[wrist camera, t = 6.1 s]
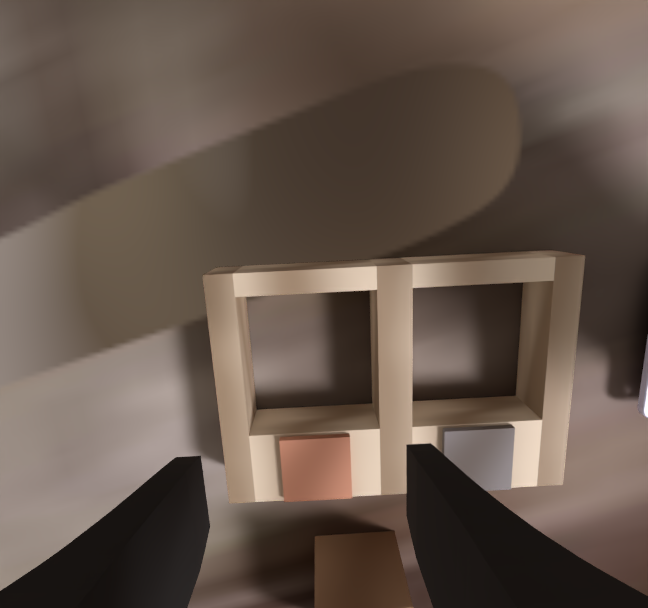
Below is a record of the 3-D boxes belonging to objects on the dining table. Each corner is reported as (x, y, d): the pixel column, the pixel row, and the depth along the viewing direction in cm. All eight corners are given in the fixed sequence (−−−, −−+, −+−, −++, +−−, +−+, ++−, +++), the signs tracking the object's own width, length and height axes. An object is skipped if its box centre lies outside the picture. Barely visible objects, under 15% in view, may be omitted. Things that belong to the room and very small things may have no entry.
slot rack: (551, 249, 19) (590, 256, 16) (535, 454, 22) (566, 488, 19) (216, 267, 19) (200, 276, 16) (239, 470, 21) (228, 508, 19)
